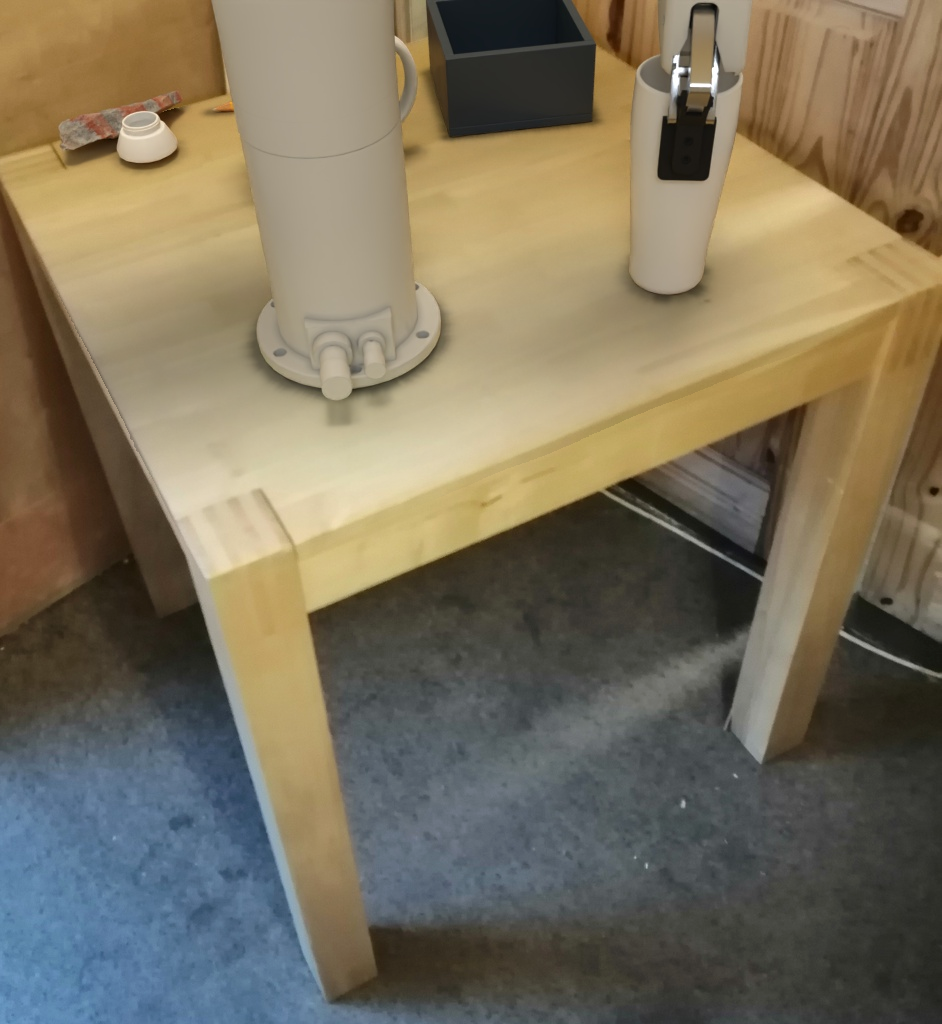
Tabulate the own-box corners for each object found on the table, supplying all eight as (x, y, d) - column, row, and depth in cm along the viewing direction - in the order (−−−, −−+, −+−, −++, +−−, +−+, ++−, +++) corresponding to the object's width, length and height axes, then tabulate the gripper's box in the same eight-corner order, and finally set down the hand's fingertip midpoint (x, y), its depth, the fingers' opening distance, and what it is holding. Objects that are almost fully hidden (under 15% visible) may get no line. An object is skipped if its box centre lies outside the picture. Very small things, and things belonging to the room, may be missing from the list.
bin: (592, 121, 94) (596, 43, 89) (449, 137, 93) (445, 59, 88) (561, 59, 102) (563, -16, 97) (430, 73, 101) (425, -2, 96)
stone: (165, 89, 98) (189, 84, 95) (174, 117, 99) (199, 113, 96) (39, 125, 92) (60, 121, 88) (50, 155, 93) (72, 152, 89)
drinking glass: (732, 283, 77) (768, 78, 66) (657, 316, 74) (681, 109, 63) (672, 240, 81) (696, 40, 70) (599, 269, 78) (612, 67, 67)
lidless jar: (185, 158, 91) (170, 132, 94) (176, 125, 89) (162, 100, 92) (126, 172, 90) (114, 146, 93) (117, 139, 88) (104, 113, 91)
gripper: (806, -108, 51) (748, 222, 64) (774, -209, 63) (730, 87, 76) (647, -108, 52) (621, 218, 65) (644, -207, 63) (623, 86, 77)
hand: (680, 146), depth 70 cm, fingers closed on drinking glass, 6 cm apart
